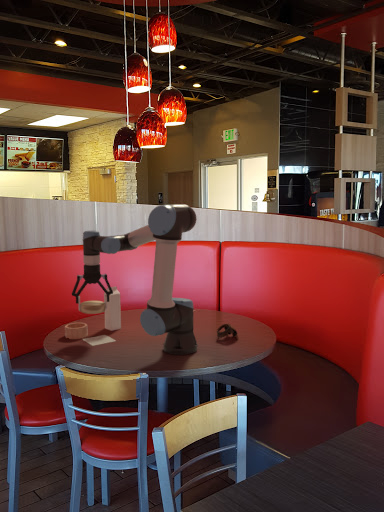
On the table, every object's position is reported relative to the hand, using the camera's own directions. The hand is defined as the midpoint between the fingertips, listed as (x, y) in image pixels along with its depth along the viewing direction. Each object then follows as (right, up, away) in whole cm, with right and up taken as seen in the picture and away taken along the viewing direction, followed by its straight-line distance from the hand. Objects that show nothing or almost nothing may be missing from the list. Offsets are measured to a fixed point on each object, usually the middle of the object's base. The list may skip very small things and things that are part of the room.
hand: (92, 309), depth 222 cm
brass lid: (0, -1, 0) cm, 1 cm away
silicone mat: (+3, -15, 0) cm, 15 cm away
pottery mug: (+64, -14, +4) cm, 66 cm away
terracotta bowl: (-9, -14, +7) cm, 18 cm away
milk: (+6, -13, +20) cm, 24 cm away
